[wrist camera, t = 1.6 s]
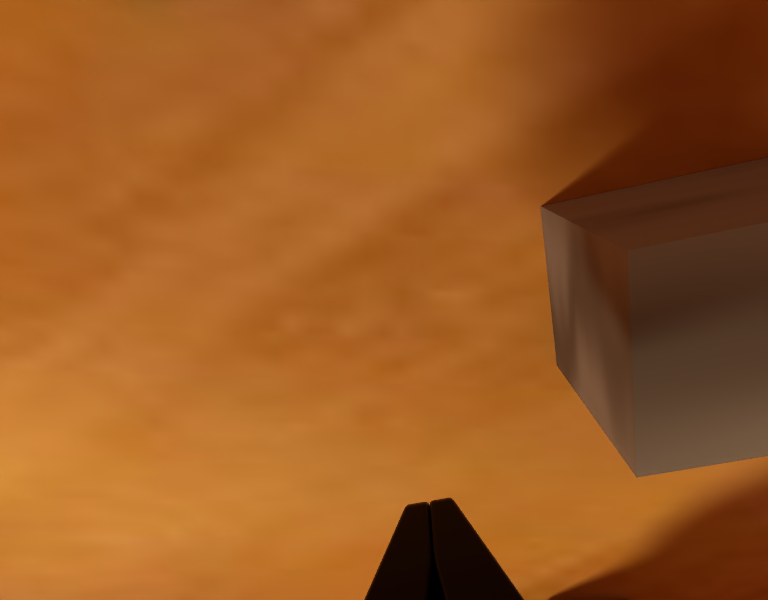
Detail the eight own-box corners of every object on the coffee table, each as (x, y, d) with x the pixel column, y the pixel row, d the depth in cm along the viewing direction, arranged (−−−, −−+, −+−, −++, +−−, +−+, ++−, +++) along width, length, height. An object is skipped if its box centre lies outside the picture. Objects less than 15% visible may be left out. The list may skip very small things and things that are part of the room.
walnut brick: (780, 322, 17) (980, 421, 11) (555, 363, 17) (636, 477, 12) (794, 150, 15) (1047, 165, 9) (539, 205, 15) (627, 250, 10)
